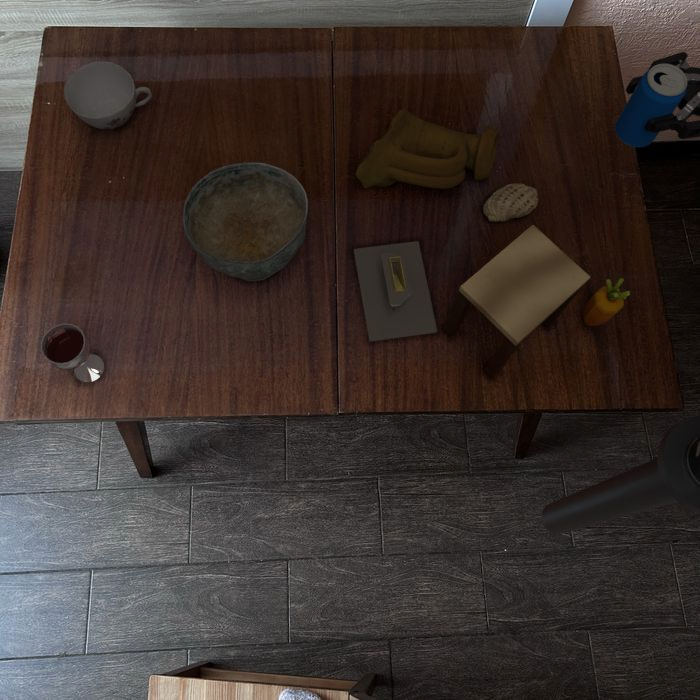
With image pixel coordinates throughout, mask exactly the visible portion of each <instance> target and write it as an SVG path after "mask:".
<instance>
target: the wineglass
mask: <svg viewBox="0 0 700 700" xmlns="http://www.w3.org/2000/svg"><path fill="white" fill-rule="evenodd" d="M91 344H92V343H91V341H90V339H89V337H88V335H87V334H86V333H85V332H84V331H83V330H82V329H81V328H80V327H79V326H77V325H75V324H73V323H66V322H65V323H60V324H59V323H58V324H56V325H54V326H52V327H51V328H49V329H48V330H47V331H46V332H45V333H44V335H43V337H42V339H41V342H40V351H41V353H42V356H43V357H44V359H46V360H47V362H49V363H50V364H51V365H52V366H53V367H54V368H57V369H59V370H63V371H64V370H65V371H69V370H70V371H71V370H73V373H74V376H75V377H76V378H77V380H79V381H81V382H83V383H92V382H94V381H96V380H98V379H99V378H101V376H102V374H103V373H104V370H105V363H104V361H103V359H102V358H101V357H100V356H99V355H96V354H94V353H93V354H92V353H91V351H92V346H91Z"/></svg>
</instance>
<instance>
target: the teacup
mask: <svg viewBox="0 0 700 700" xmlns="http://www.w3.org/2000/svg"><path fill="white" fill-rule="evenodd" d="M63 93H64V99H65V102H66V103H67V106H68V107H69V108H70V109H71V111H72V112H73V113H74V114H75V115H76V116H77V118H79V119H80V120H81V121H83V122H84V123H86V124H87V125H89V126H91V127H94V128H95V129H100V130H114V129H117V128H120V127H122V126H123V125H125V124H126V123H127V122H128V121H129V120H130V119H131V117H132V116H133V113H134V111H135V109H136V108H138V107H141V106H144V105H146V104H147V103H149V102H150V101H151V99H152V97H153V95H152V91H151V89H150V88H149V87H146V86H140V87H137V88H136V85H135V81H134V79H133V77H132V75H131V74H130V73H129V72H128V71H127V70H126V69H125V68H124V67H122V66H121V65H120V64H116V63H115V62H111V61H103V60H102V61H93V62H90V63H86V64H85V65H82V66H80V67H79V68H78V69H77V70H76V71H74V72H73V73H72V74H70V75H69V77H68V80H66V81H65V84H64V89H63ZM142 93H146V94H147V95H148V96H147V97H145V98H144V99H142V100H140V101H139V102H137V99H138V97H139V95H140V94H142Z"/></svg>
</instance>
